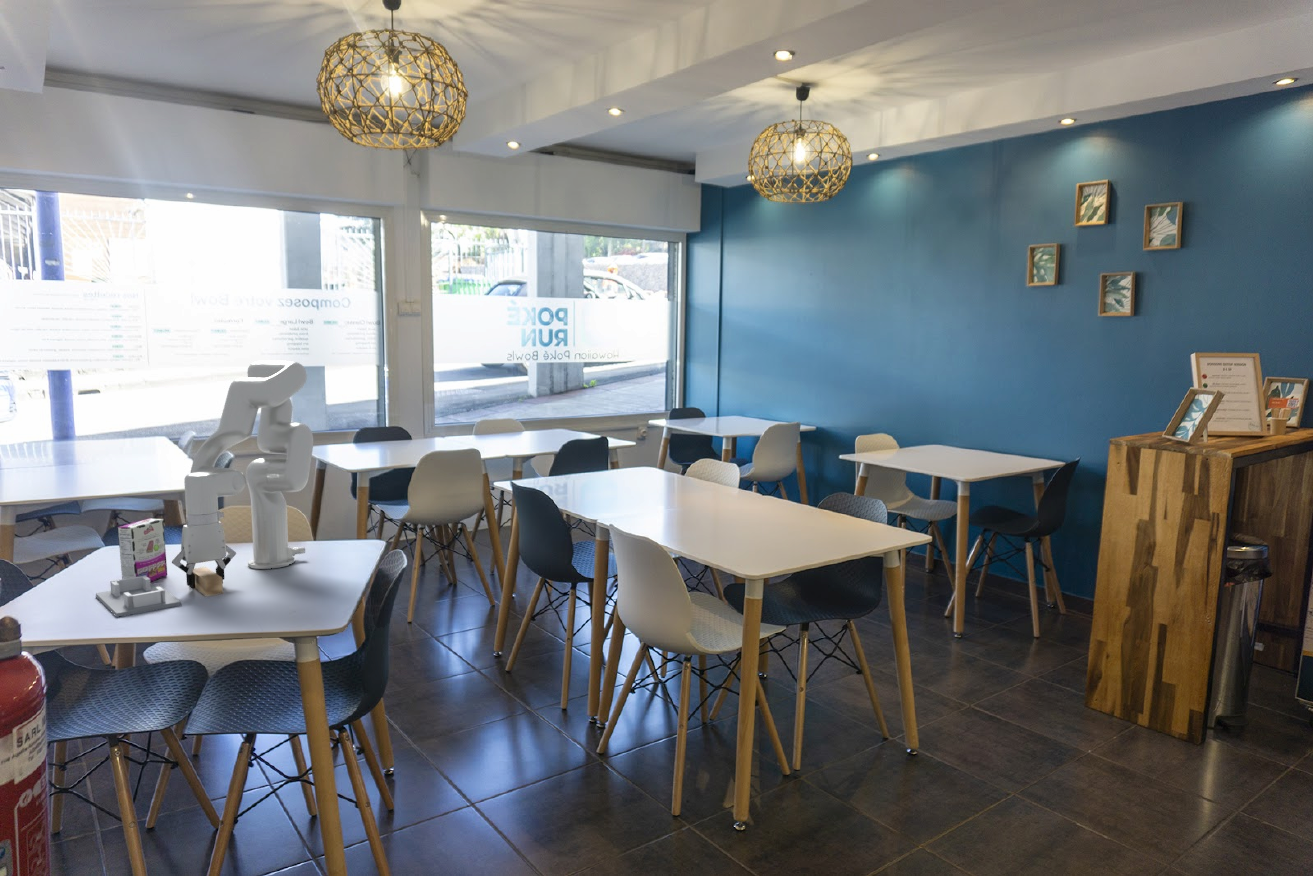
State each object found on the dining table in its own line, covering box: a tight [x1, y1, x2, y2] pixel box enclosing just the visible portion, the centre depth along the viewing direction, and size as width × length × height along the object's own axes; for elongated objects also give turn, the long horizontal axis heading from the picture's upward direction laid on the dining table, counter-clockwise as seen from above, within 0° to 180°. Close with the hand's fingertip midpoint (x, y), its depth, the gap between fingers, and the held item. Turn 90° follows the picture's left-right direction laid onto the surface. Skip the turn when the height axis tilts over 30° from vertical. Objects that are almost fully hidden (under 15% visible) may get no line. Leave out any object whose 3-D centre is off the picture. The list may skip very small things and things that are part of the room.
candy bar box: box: [117, 518, 168, 583], centre depth 234 cm, size 11×5×16 cm, turn 168°
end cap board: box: [95, 576, 182, 618], centre depth 217 cm, size 14×22×4 cm, turn 44°
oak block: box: [193, 566, 224, 597], centre depth 228 cm, size 4×14×4 cm, turn 44°
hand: (206, 584), depth 228 cm, fingers open, 6 cm apart
